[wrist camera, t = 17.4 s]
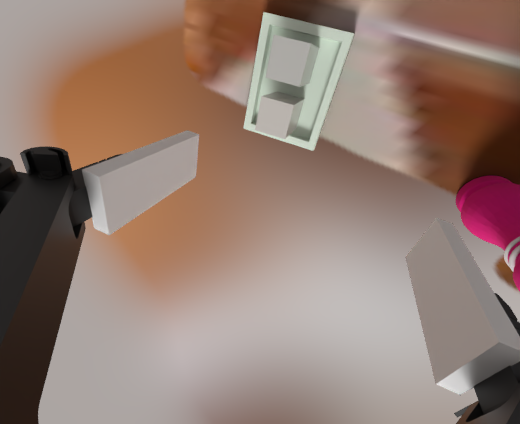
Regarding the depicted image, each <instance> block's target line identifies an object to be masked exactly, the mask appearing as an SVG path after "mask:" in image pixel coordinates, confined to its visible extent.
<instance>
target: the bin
mask: <svg viewBox="0 0 520 424" xmlns="http://www.w3.org/2000/svg"><path fill="white" fill-rule="evenodd" d="M274 35H277V36H281V37H286V38H290V39H294V40H298V41H303V42H307V43H311V44H313V45H315V46H317V47H318V48H319V52H318V55H317V59H316V62H315V66H314V69H313V73H312V76H311V80H310V83H309V84H306V85H303V86H300V87H298V86H295V85H291V84H287V83H284V82H280V81H276V80H272V79H269V78H266V73H267V67H268V62H269V57H270V52H271V46H272V41H273V36H274ZM353 38H354V33H350V32H346V31H342V30H338V29H333V28H329V27H325V26H321V25H316V24H312V23H308V22H304V21H300V20H295V19H291V18H287V17H283V16H278V15H274V14H270V13H266V12H264V13H263V19H262V24H261V30H260V36H259V42H258V48H257V53H256V59H255V65H254V71H253V76H252V82H251V88H250V94H249V100H248V105H247V111H246V117H245V123H244V129H247V130H250V131H253V132H256V133H259V134H263V135H266V136H269V137H272V138H275V139H278V140H281V141H284V142H287V143H290V144H293V145H297V146H300V147H303V148H306V149H309V150H312V151H313V150H314V149H315V147H316V144H317V141H318V138H319V135H320V132H321V130H322V127H323V124H324V121H325V118H326V115H327V112H328V110H329V107H330V104H331V101H332V98H333V95H334V92H335V90H336V87H337V84H338V81H339V78H340V75H341V72H342V70H343V67H344V64H345V61H346V58H347V55H348V52H349V50H350V47H351V44H352V41H353ZM277 91H278V92H281V93H285V94H289V95H292V96H296V97H299V98H303V99H304V103H303V106H302V110H301V114H300V117H299V121H298V124H297V128H296V129H295V130H294V131H293V132H292V133H291V134H290V135H289V136H288V137H287V138H286V139H282V138H279V137H276V136H273V135H269V134H266V133H263V132H260V131H256V130H255V128H256V122H257V117H258V112H259V106H260V101H261V96H263V95H267V94H270V93H274V92H277Z"/></svg>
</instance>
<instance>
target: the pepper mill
mask: <svg viewBox="0 0 520 424" xmlns="http://www.w3.org/2000/svg"><path fill="white" fill-rule="evenodd" d="M456 205H457V208H458V209H459V211H460V212H461V219H462V222H463V224H464V225H465V226H466V228H467V229H468V230H469V231H470V232H471V233H472V234H474V235H475V236H477V237H479V238H480V239H482V240H484V241H486V242H489V243H492V244H495V245H497V246H499V247H501V248H502V249H503V250H504V251H505V252H504V259H505V262H506V263H507V265H508V266H509V267H510V268H511V270H512V271H513V279H514V282H515V284H516V287H517V288H518V290H519V291H520V185H518V184H513V183H512V182H511V181H509V180H508V179H506V178H503V177H500V176H482V177H479V178H476V179H473V180H471V181H470V182H468V183H466V184H465V185H464V186H463V187H462V188H461V189H460V190H459V192H458V194H457V196H456Z"/></svg>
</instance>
